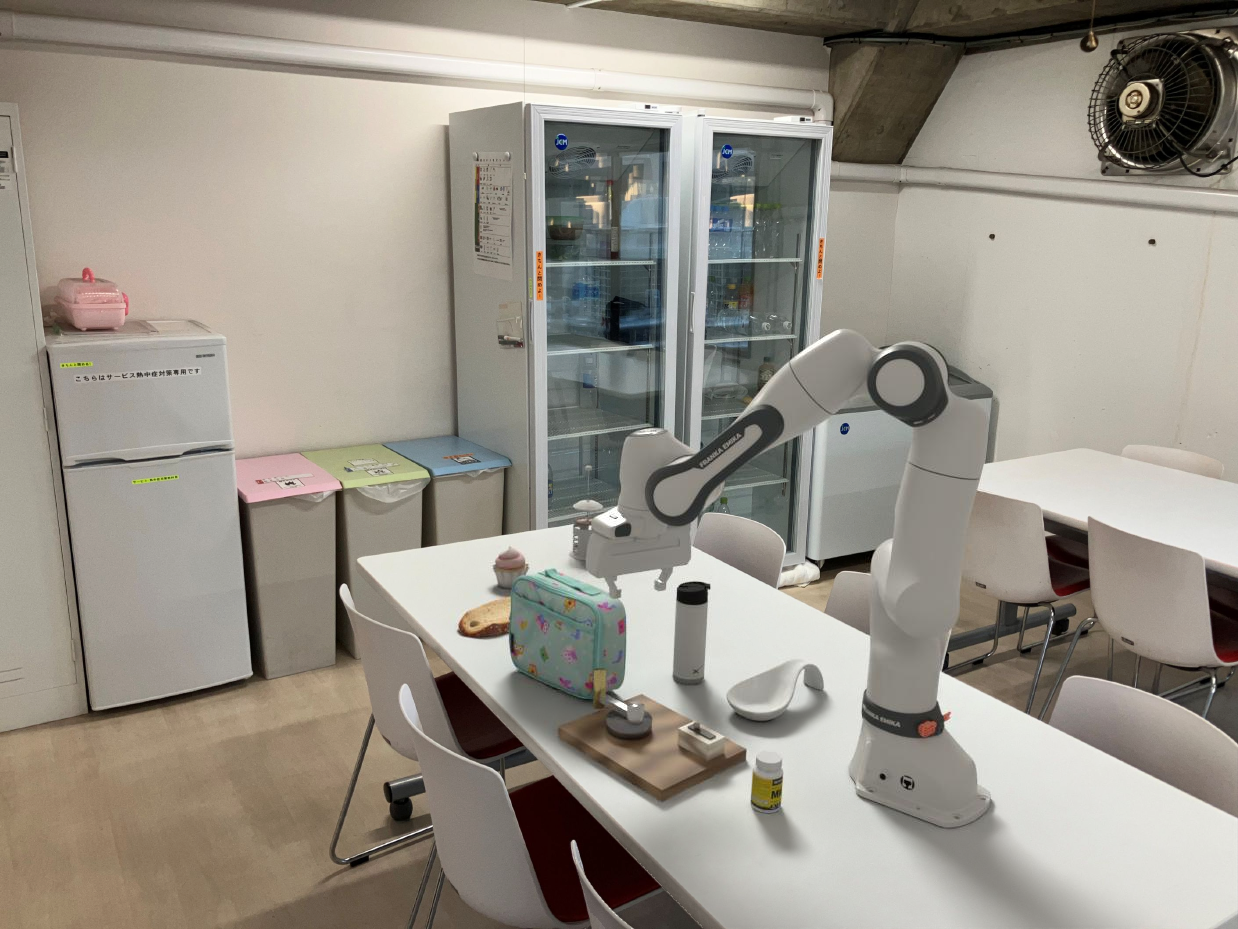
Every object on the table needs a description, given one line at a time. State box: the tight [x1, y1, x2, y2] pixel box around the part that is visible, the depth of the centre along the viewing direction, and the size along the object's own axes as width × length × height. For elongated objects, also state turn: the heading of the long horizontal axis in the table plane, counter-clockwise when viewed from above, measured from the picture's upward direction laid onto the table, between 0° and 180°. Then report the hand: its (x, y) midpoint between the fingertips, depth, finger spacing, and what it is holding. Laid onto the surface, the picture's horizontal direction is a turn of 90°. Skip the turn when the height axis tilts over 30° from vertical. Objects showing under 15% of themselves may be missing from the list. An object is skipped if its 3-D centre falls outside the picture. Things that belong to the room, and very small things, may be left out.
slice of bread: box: [458, 596, 511, 639], centre depth 223 cm, size 18×18×4 cm
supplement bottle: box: [750, 750, 784, 814], centre depth 153 cm, size 5×5×8 cm
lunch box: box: [508, 567, 627, 700], centre depth 193 cm, size 27×10×21 cm, turn 47°
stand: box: [557, 693, 747, 803], centre depth 170 cm, size 26×20×6 cm
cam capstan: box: [592, 668, 652, 740], centre depth 173 cm, size 13×8×8 cm, turn 42°
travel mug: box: [672, 580, 711, 685], centre depth 195 cm, size 6×7×20 cm
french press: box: [568, 465, 604, 561], centre depth 269 cm, size 10×12×25 cm
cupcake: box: [491, 545, 530, 589], centre depth 245 cm, size 9×9×10 cm
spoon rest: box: [726, 658, 825, 722], centre depth 187 cm, size 24×12×7 cm, turn 134°
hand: (637, 593), depth 176 cm, fingers open, 8 cm apart
